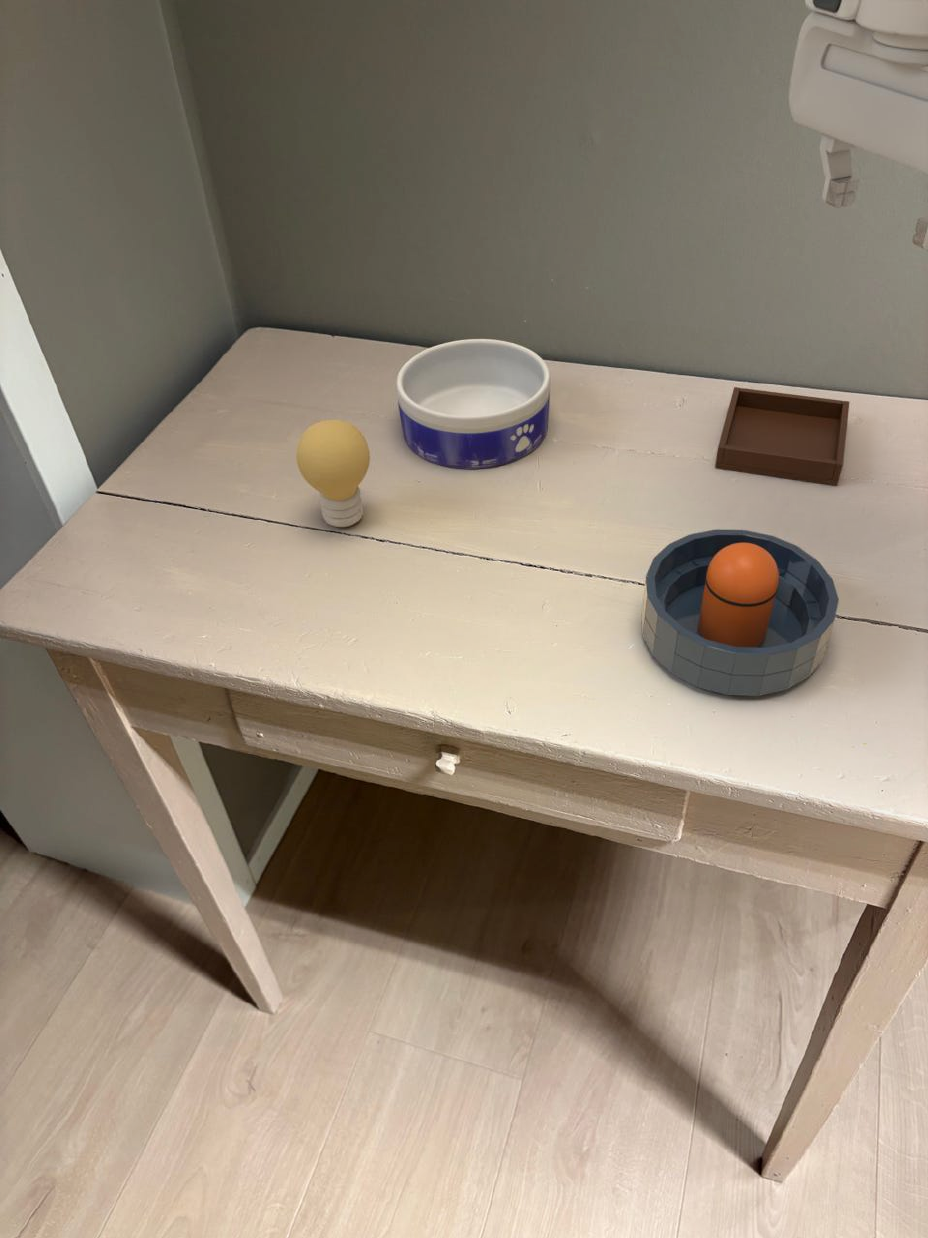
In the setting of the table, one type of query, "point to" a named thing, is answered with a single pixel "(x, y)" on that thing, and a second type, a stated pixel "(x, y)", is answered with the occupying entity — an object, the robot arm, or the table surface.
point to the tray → (784, 436)
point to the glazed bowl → (724, 668)
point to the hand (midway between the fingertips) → (880, 224)
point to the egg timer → (739, 595)
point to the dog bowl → (474, 403)
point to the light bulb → (335, 468)
